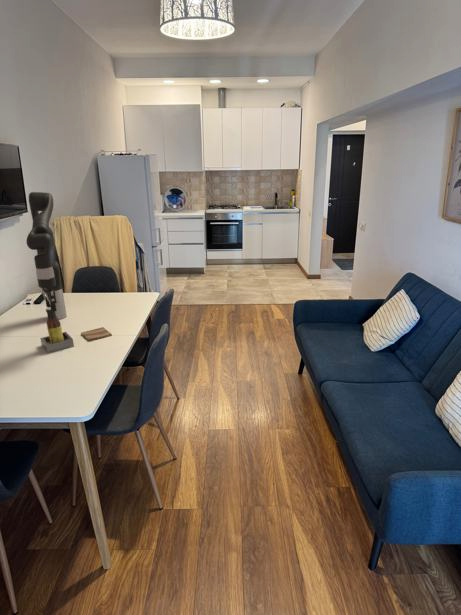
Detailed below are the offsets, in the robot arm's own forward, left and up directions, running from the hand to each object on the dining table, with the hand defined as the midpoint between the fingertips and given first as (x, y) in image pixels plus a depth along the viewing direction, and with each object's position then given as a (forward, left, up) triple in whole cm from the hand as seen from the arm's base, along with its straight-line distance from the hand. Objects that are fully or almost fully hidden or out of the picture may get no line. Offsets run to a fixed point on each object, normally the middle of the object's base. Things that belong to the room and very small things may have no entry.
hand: (51, 309), depth 198 cm
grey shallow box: (0, 0, -19) cm, 19 cm away
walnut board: (-1, +20, -19) cm, 28 cm away
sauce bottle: (0, 0, -20) cm, 20 cm away
